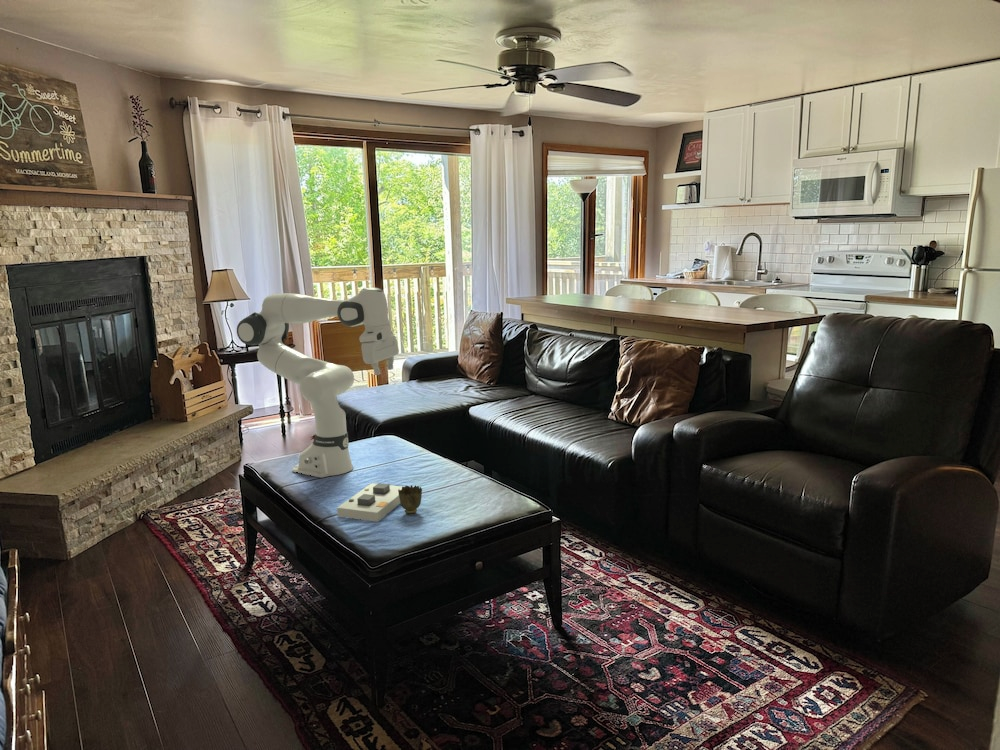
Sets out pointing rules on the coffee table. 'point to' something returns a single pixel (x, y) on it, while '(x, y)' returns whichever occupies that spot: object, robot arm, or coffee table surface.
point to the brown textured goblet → (410, 498)
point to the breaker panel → (374, 511)
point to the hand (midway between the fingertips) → (384, 372)
